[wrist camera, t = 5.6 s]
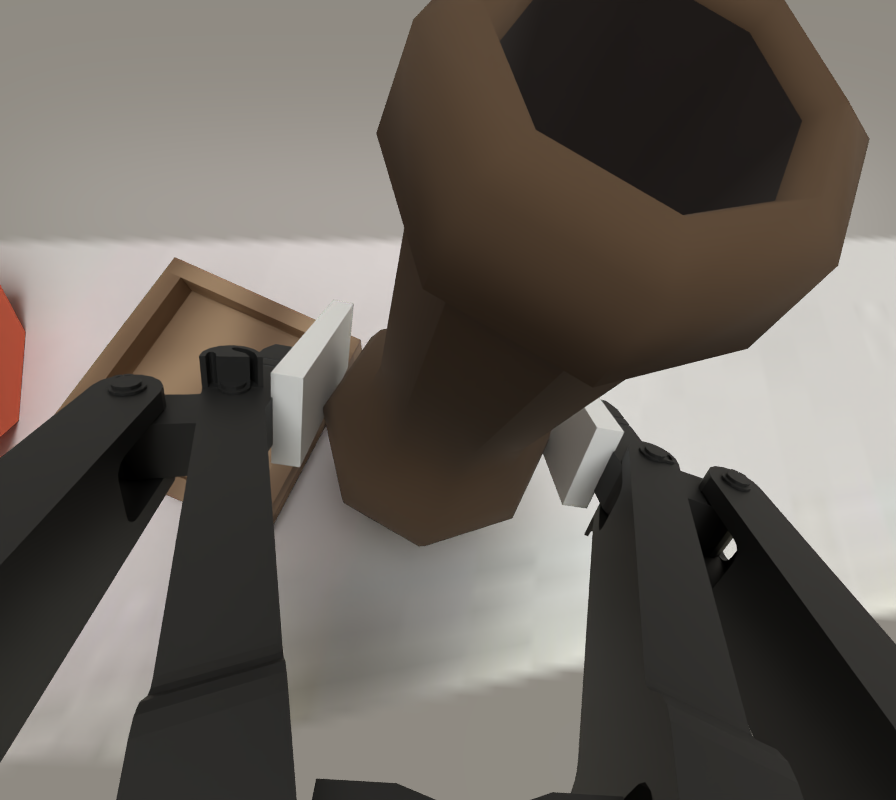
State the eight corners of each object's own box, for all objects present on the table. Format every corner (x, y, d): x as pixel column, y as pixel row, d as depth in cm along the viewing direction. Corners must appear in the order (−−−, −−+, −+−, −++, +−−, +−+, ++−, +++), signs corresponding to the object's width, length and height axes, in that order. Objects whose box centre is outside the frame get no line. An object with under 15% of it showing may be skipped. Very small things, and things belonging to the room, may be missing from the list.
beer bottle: (360, 399, 26) (204, -414, 3) (477, 416, 27) (1004, -120, 4) (337, 525, 24) (-685, 776, 1) (466, 539, 25) (1469, 840, 2)
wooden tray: (71, 447, 23) (35, 439, 20) (193, 280, 26) (174, 257, 24) (269, 531, 23) (257, 533, 21) (362, 355, 27) (360, 339, 24)
